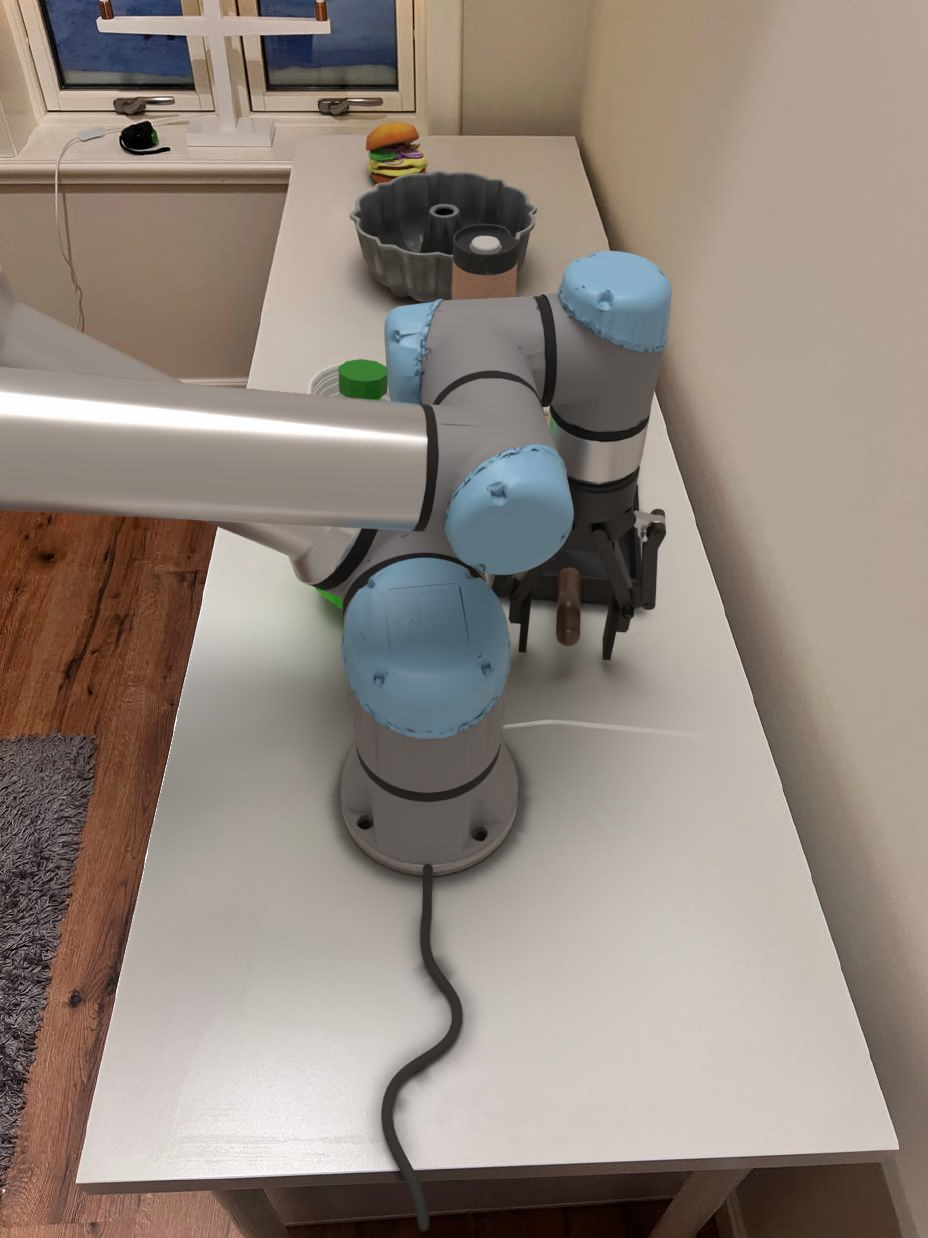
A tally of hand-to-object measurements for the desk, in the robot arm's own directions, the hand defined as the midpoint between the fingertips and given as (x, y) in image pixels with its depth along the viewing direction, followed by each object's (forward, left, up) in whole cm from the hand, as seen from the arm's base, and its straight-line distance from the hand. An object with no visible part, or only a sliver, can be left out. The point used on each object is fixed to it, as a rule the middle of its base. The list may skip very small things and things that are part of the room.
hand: (564, 645), depth 91 cm
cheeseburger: (+105, +32, -3) cm, 109 cm away
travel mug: (+45, +12, -3) cm, 46 cm away
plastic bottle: (+6, +21, -2) cm, 22 cm away
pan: (+9, 0, -2) cm, 10 cm away
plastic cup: (+26, +24, -3) cm, 35 cm away
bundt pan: (+73, +20, -3) cm, 75 cm away
